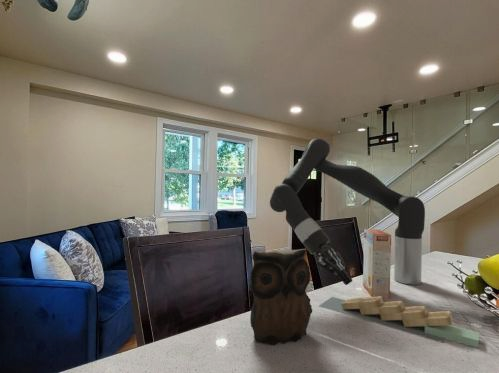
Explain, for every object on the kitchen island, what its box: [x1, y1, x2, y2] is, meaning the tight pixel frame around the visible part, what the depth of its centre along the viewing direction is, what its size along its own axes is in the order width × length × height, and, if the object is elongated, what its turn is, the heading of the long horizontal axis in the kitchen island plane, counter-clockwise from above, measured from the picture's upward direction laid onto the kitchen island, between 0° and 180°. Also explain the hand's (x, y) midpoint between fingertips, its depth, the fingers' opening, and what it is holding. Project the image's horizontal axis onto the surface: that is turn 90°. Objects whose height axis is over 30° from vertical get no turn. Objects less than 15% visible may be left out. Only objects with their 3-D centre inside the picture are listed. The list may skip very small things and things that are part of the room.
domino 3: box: [380, 305, 428, 321], centre depth 72 cm, size 5×2×10 cm
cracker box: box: [362, 228, 392, 300], centre depth 96 cm, size 14×6×21 cm, turn 168°
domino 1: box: [341, 296, 384, 309], centre depth 79 cm, size 5×2×10 cm
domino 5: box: [425, 324, 480, 349], centre depth 66 cm, size 5×2×10 cm
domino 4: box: [402, 310, 453, 327], centre depth 69 cm, size 5×2×10 cm
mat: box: [318, 296, 445, 343], centre depth 76 cm, size 10×30×1 cm, turn 51°
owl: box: [249, 248, 313, 346], centre depth 65 cm, size 13×13×20 cm
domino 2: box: [360, 300, 405, 315], centre depth 75 cm, size 5×2×10 cm
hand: (349, 282), depth 81 cm, fingers closed
